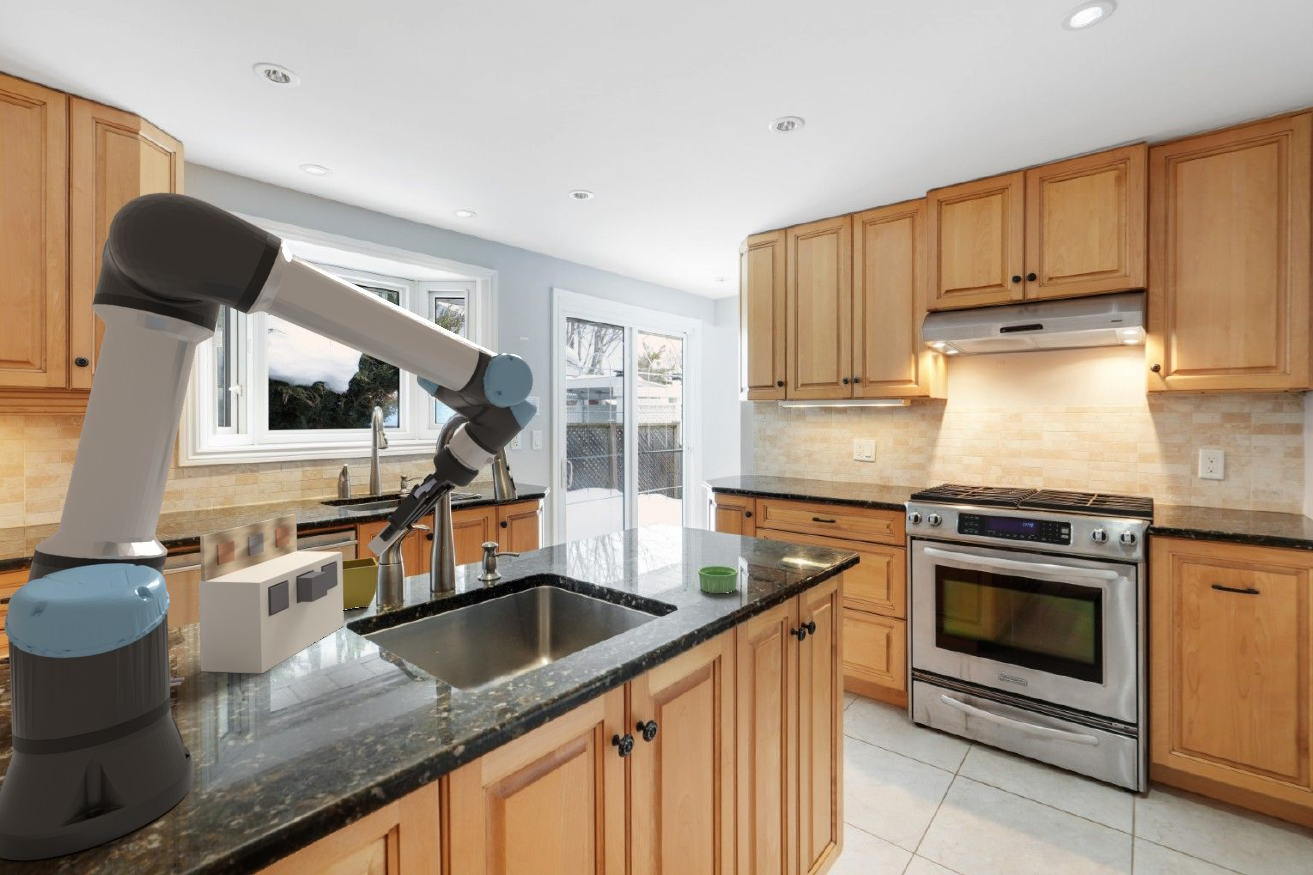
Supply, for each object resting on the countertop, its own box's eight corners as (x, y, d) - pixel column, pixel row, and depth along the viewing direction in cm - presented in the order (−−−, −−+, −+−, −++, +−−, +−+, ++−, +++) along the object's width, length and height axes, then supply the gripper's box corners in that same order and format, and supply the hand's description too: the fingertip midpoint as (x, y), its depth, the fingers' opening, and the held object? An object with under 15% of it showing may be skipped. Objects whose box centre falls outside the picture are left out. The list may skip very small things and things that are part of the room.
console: (262, 673, 94) (259, 582, 93) (200, 671, 94) (198, 581, 94) (343, 626, 114) (342, 551, 114) (293, 624, 115) (291, 550, 115)
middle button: (312, 601, 101) (311, 578, 101) (293, 601, 102) (293, 577, 102) (327, 594, 105) (326, 571, 105) (309, 594, 106) (309, 571, 106)
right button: (323, 590, 108) (323, 567, 108) (306, 590, 108) (306, 567, 108) (337, 584, 112) (337, 562, 112) (320, 583, 112) (320, 562, 112)
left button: (271, 614, 95) (270, 588, 95) (252, 613, 95) (251, 588, 95) (289, 606, 99) (288, 581, 99) (270, 605, 99) (269, 581, 99)
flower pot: (330, 616, 120) (329, 570, 120) (328, 604, 128) (327, 561, 127) (379, 609, 125) (378, 565, 124) (374, 598, 132) (374, 556, 132)
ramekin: (725, 582, 145) (725, 564, 145) (745, 592, 136) (745, 572, 136) (691, 586, 141) (691, 567, 141) (710, 597, 133) (710, 577, 133)
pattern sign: (206, 581, 94) (205, 536, 93) (201, 581, 94) (200, 535, 94) (298, 551, 115) (297, 513, 114) (294, 551, 115) (293, 513, 114)
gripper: (464, 476, 101) (368, 574, 102) (492, 469, 114) (406, 556, 115) (433, 443, 101) (338, 542, 103) (464, 440, 114) (379, 528, 116)
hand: (374, 550), depth 109 cm, fingers closed
